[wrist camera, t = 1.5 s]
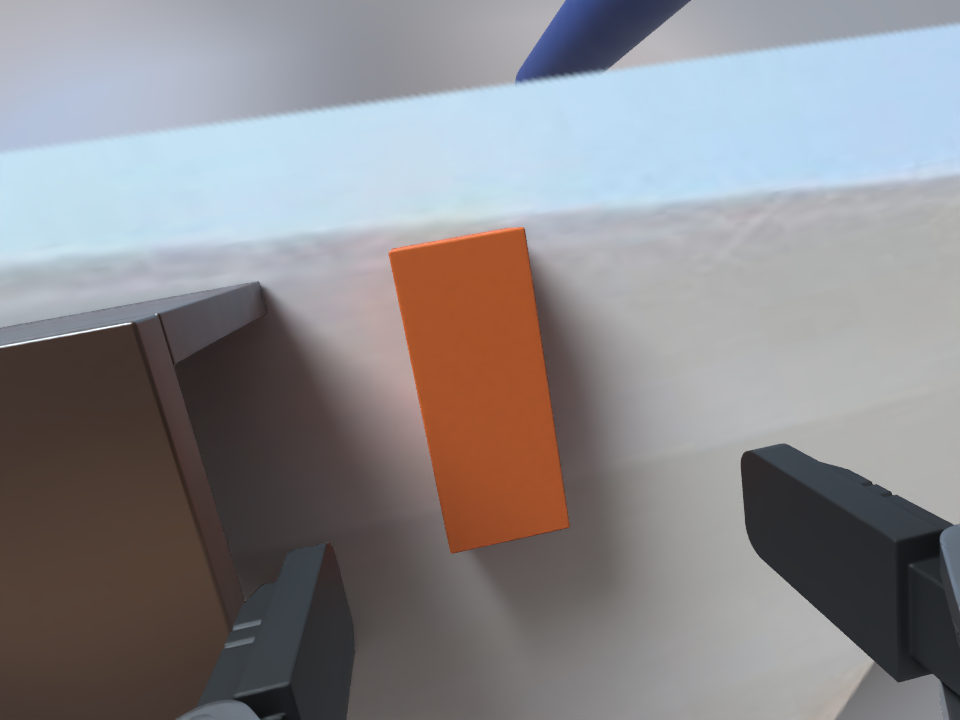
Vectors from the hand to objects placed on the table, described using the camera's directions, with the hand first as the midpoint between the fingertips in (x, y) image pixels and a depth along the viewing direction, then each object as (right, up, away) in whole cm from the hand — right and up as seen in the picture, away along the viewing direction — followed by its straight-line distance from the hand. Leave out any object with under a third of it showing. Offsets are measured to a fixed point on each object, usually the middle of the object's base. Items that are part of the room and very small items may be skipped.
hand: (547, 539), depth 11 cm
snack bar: (-1, +3, +12) cm, 12 cm away
